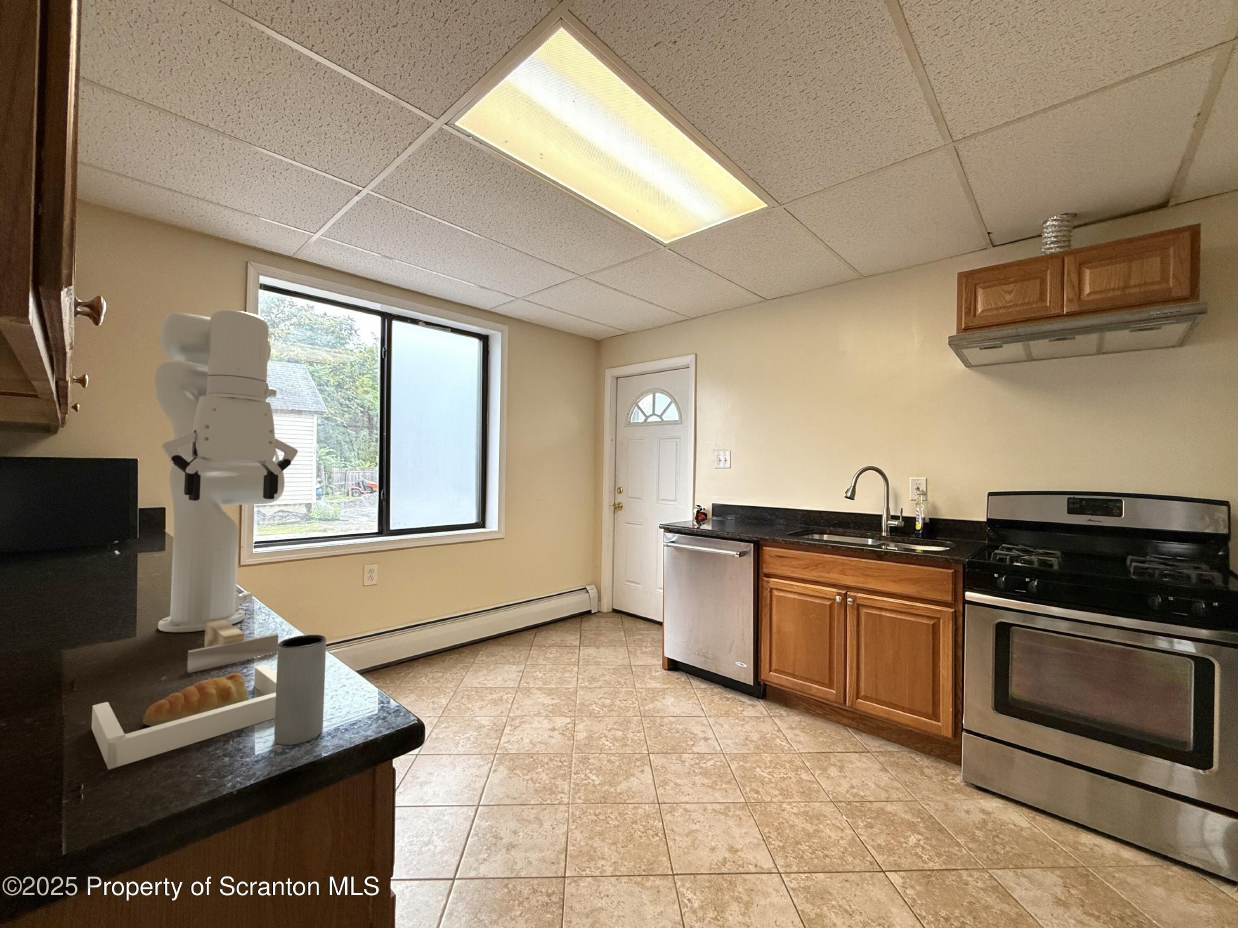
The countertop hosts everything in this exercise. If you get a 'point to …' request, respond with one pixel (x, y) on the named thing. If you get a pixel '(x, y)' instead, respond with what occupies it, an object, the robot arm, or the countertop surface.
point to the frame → (181, 725)
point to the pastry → (198, 699)
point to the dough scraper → (228, 647)
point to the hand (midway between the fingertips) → (233, 499)
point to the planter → (300, 689)
